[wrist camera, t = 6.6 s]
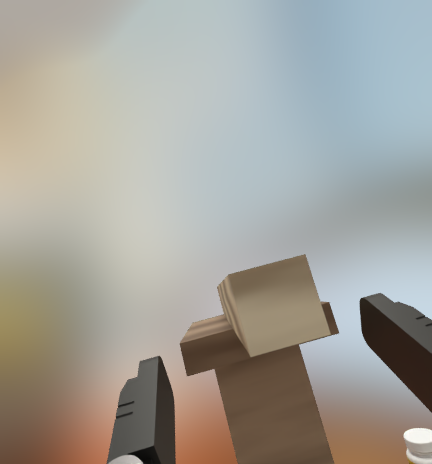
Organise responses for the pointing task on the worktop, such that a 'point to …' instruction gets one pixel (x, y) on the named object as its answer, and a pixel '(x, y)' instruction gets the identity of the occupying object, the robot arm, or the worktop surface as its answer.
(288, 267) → the beech bar
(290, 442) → the walnut stand
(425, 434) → the supplement bottle
